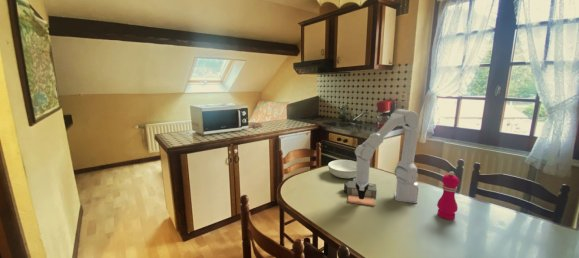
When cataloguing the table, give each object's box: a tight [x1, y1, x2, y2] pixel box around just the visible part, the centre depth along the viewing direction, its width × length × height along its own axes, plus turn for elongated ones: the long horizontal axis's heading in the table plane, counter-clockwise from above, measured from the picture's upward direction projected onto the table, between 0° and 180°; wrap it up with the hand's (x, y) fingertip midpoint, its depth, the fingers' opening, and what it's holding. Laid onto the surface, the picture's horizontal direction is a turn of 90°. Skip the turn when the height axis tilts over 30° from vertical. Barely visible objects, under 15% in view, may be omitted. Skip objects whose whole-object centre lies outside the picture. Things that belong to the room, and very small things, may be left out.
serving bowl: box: [327, 159, 357, 179], centre depth 147 cm, size 21×21×7 cm
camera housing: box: [343, 180, 378, 200], centre depth 123 cm, size 16×8×5 cm, turn 73°
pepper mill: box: [436, 171, 460, 221], centre depth 101 cm, size 7×7×20 cm
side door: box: [347, 195, 376, 207], centre depth 115 cm, size 12×1×7 cm
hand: (361, 198), depth 113 cm, fingers closed
